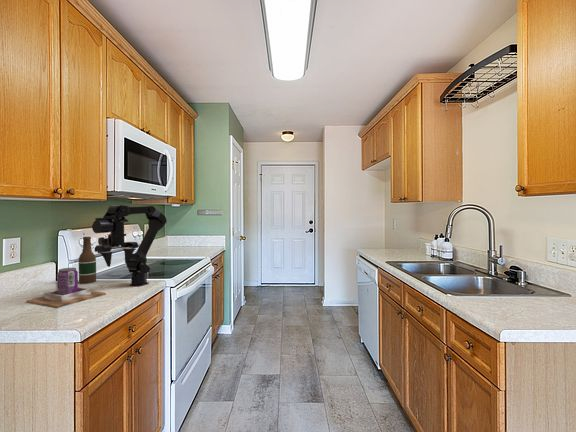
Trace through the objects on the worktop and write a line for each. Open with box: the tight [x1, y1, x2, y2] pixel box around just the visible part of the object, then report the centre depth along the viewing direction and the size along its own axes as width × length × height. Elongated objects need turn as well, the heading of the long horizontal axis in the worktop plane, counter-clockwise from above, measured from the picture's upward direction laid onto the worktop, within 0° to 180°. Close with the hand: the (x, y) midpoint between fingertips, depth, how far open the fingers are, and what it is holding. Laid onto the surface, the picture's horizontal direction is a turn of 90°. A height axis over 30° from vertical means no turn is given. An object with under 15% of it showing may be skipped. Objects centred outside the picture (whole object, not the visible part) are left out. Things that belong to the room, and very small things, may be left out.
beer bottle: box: [78, 236, 97, 285], centre depth 159 cm, size 8×8×24 cm
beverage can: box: [56, 267, 79, 295], centre depth 128 cm, size 7×7×12 cm
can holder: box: [25, 286, 107, 309], centre depth 130 cm, size 20×20×3 cm
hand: (117, 265), depth 142 cm, fingers open, 9 cm apart
